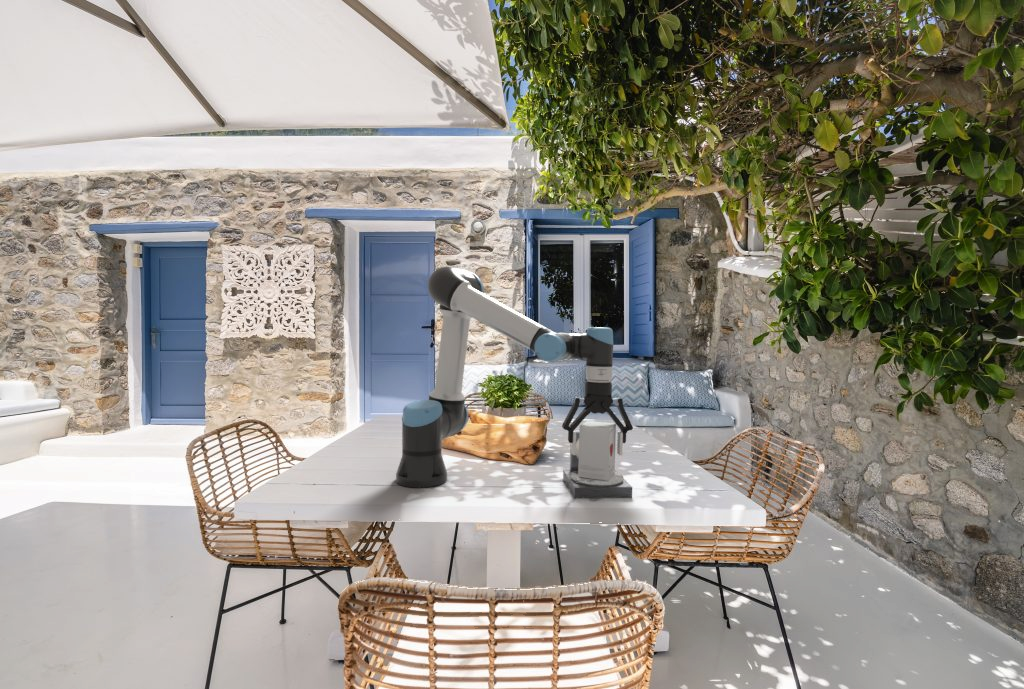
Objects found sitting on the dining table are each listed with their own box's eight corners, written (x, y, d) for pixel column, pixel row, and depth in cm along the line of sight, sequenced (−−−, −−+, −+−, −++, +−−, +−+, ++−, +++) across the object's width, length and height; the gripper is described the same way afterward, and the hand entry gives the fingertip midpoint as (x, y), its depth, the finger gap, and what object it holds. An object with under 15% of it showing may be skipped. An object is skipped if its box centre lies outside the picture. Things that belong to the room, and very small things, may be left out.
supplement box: (608, 481, 146) (609, 428, 145) (577, 477, 150) (578, 425, 149) (615, 473, 154) (616, 422, 154) (585, 469, 158) (586, 420, 157)
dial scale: (574, 498, 143) (575, 444, 143) (563, 479, 161) (564, 430, 161) (632, 497, 145) (633, 443, 144) (614, 478, 163) (615, 430, 162)
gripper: (557, 381, 146) (555, 457, 147) (645, 382, 148) (643, 457, 149) (553, 378, 154) (551, 450, 155) (637, 380, 156) (634, 451, 157)
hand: (596, 454), depth 152 cm, fingers open, 13 cm apart
